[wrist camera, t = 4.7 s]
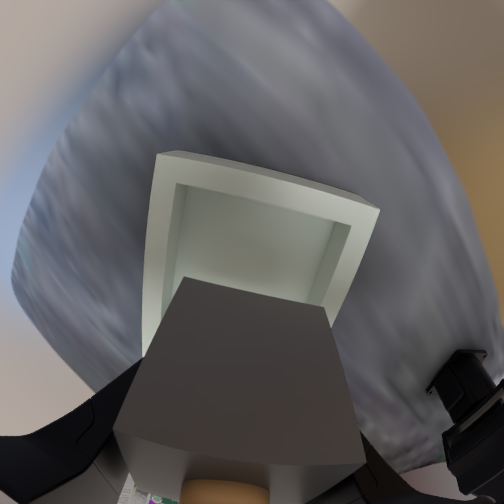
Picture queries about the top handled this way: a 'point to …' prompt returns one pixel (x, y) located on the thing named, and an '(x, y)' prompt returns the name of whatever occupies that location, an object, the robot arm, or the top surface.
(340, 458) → the plug block
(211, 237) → the socket strip
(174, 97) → the top surface
